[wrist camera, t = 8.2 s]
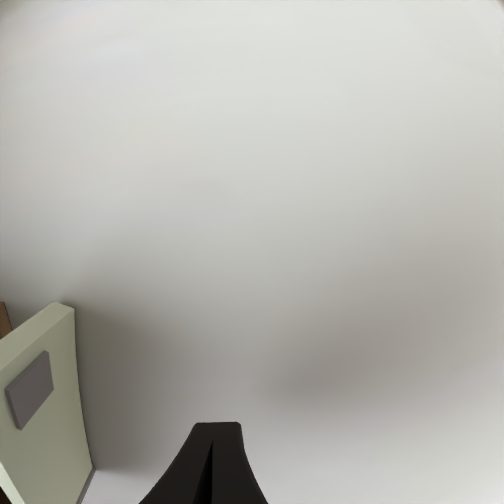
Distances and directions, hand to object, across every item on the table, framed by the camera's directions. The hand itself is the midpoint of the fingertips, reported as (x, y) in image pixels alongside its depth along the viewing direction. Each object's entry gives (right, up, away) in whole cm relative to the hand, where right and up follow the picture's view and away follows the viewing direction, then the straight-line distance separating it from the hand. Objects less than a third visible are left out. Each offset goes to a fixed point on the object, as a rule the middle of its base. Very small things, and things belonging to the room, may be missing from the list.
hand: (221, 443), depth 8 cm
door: (-7, -1, +3) cm, 8 cm away
